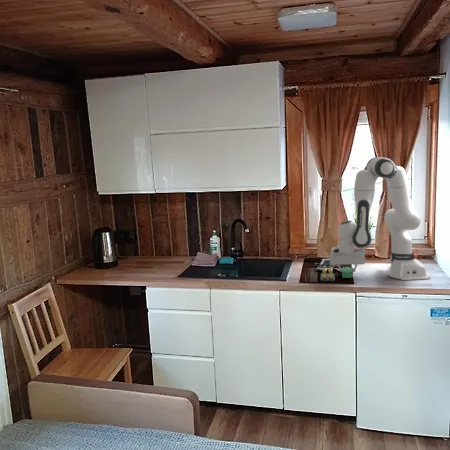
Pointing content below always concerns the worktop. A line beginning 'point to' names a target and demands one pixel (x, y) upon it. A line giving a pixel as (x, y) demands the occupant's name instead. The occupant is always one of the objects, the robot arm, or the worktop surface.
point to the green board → (347, 272)
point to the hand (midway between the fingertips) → (347, 271)
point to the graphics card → (324, 265)
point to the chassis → (327, 275)
